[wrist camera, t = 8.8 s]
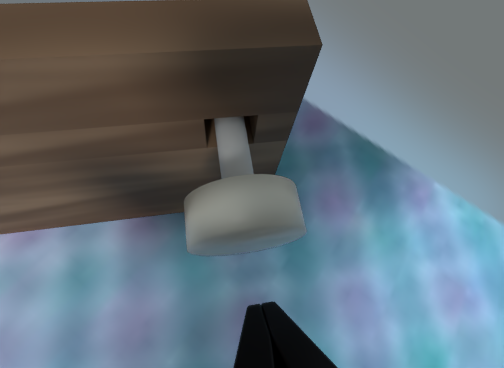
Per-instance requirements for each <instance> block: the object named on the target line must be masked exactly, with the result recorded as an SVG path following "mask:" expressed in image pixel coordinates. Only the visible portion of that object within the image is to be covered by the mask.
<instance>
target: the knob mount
mask: <svg viewBox="0 0 504 368" xmlns="http://www.w3.org/2000/svg"><path fill="white" fill-rule="evenodd" d="M321 47H322V42H321V39H320V37H319V33H318V30H317V27H316V25H315V22H314V19H313V16H312V13H311V10H310V7H309V4H308V1H307V0H160V1H159V0H157V1H116V2H115V1H112V2H69V3H67V2H66V3H23V4H21V3H20V4H0V234H7V233H15V232H24V231H32V230H40V229H48V228H56V227H65V226H73V225H81V224H89V223H98V222H106V221H114V220H122V219H130V218H139V217H147V216H155V215H163V214H171V213H180V212H184V200H185V198H186V196H187V195H188V194H189V193H191V192H192V191H193V190H195V189H197V188H198V187H201V186H203V185H205V184H207V183H210V182H213V181H216V180H220V179H222V178H221V171H220V163H219V155H218V147H217V139H216V131H215V124H214V118H227V117H239V116H244V121H245V127H246V133H247V138H248V144H249V150H250V155H251V161H252V167H253V172H254V174H271V175H275V173H276V170H277V167H278V165H279V162H280V159H281V156H282V154H283V151H284V148H285V145H286V143H287V140H288V137H289V135H290V132H291V129H292V126H293V124H294V121H295V118H296V116H297V113H298V110H299V107H300V105H301V102H302V99H303V96H304V94H305V91H306V88H307V86H308V82H309V80H310V77H311V74H312V72H313V69H314V67H315V64H316V61H317V58H318V56H319V53H320V50H321Z"/></svg>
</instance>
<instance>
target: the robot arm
mask: <svg viewBox="0 0 504 368" xmlns="http://www.w3.org/2000/svg"><path fill="white" fill-rule="evenodd" d="M234 368H337V367H336V365H335V364H334V363H333V362H332V361H331V360H330V359H329V358H328V357H327V356H326V355H325V354H324V353H323V352H322V351H321V350H320V349H319V348H318V347H317V346H316V344H315V343H314V342H313V341H312V340H311V339H310V338H309V337H308V336H307V335H306V334H305V333H304V332H303V331H302V330H301V329H300V328H299V327H298V326H297V325H296V324H295V322H294V321H293V320H292V319H291V318H290V317H289V316H288V315H287V314H286V313H285V312H284V311H283V310H282V309H281V308H280V307H279V306H278V305H277V304H276V303H275V302H266V303H262V305H260V304H255V305H249V306H248V307H247V310H246V314H245V319H244V323H243V328H242V332H241V336H240V341H239V345H238V350H237V354H236V359H235V363H234Z"/></svg>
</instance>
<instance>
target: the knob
mask: <svg viewBox="0 0 504 368" xmlns="http://www.w3.org/2000/svg"><path fill="white" fill-rule="evenodd" d="M214 124H215V131H216V139H217V147H218V155H219V163H220V171H221V178H222V179H220V180H216V181H213V182H210V183H207V184H205V185H203V186H201V187H198V188H197V189H195V190H193V191H192V192H191V193H189V194H188V195H187V196H186V198H185V200H184V214H185V229H186V243H187V251H188V252H189V253H191V254H194V255H199V256H225V255H235V254H243V253H250V252H255V251H261V250H265V249H270V248H274V247H277V246H281V245H284V244H287V243H290V242H293V241H295V240H297V239H299V238H301V237H303V236H304V235H305V234H306V232H307V230H306V226H305V222H304V217H303V213H302V209H301V205H300V200H299V196H298V192H297V188H296V184H295V183H294V182H293V181H292V180H290V179H288V178H286V177H283V176H278V175H271V174H254V172H253V167H252V161H251V155H250V150H249V144H248V138H247V133H246V127H245V121H244V116H239V117H227V118H214Z"/></svg>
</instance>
